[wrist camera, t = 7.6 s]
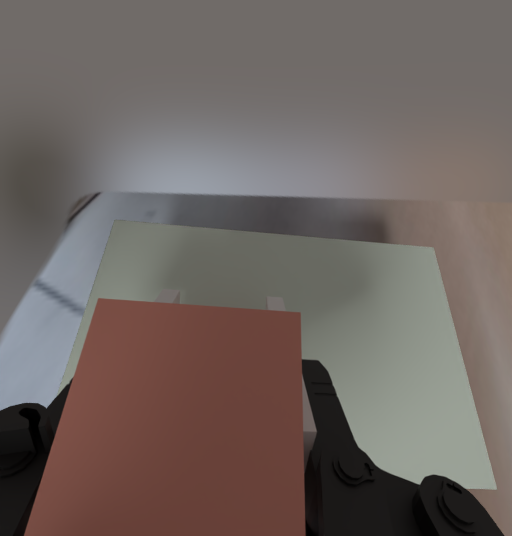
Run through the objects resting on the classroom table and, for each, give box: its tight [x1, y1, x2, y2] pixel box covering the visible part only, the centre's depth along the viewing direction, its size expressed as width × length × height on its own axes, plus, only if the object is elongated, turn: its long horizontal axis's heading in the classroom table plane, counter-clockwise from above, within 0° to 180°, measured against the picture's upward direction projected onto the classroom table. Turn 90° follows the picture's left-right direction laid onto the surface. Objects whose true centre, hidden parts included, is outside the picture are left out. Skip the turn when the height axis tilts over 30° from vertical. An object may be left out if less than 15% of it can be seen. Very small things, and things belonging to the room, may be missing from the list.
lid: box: [24, 220, 497, 536], centre depth 10 cm, size 21×13×10 cm, turn 87°
